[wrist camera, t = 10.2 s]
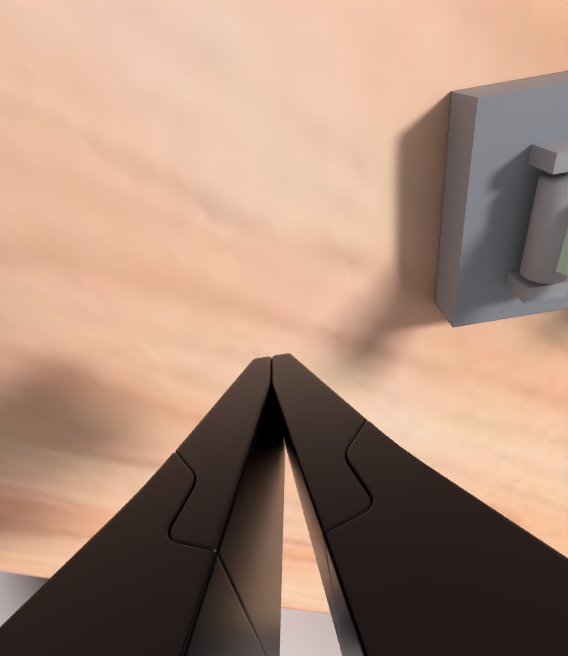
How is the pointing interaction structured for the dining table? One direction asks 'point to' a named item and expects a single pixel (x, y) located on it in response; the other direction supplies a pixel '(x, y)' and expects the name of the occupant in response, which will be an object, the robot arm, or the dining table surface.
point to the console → (498, 197)
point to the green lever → (548, 232)
